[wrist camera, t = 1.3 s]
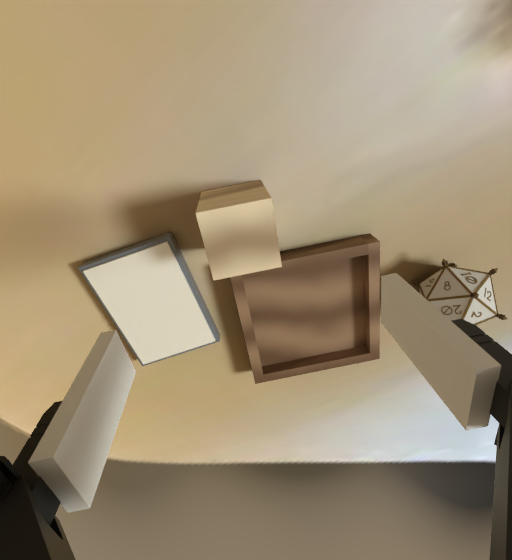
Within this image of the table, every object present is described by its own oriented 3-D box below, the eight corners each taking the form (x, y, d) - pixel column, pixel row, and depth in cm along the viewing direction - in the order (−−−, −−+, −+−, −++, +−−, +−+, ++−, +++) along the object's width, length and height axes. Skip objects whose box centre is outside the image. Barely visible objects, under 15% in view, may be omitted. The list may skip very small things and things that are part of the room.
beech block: (201, 191, 32) (195, 213, 25) (260, 179, 32) (271, 198, 25) (215, 247, 35) (213, 280, 28) (269, 236, 35) (281, 266, 28)
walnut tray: (228, 262, 36) (228, 271, 34) (369, 233, 36) (379, 241, 34) (253, 369, 43) (255, 383, 41) (371, 346, 43) (379, 358, 41)
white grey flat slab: (83, 262, 34) (77, 269, 33) (171, 231, 34) (169, 237, 32) (144, 358, 41) (141, 367, 39) (219, 334, 40) (219, 342, 38)
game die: (412, 282, 44) (409, 351, 39) (412, 240, 38) (409, 315, 32) (493, 284, 40) (502, 361, 35) (508, 237, 33) (522, 322, 28)
